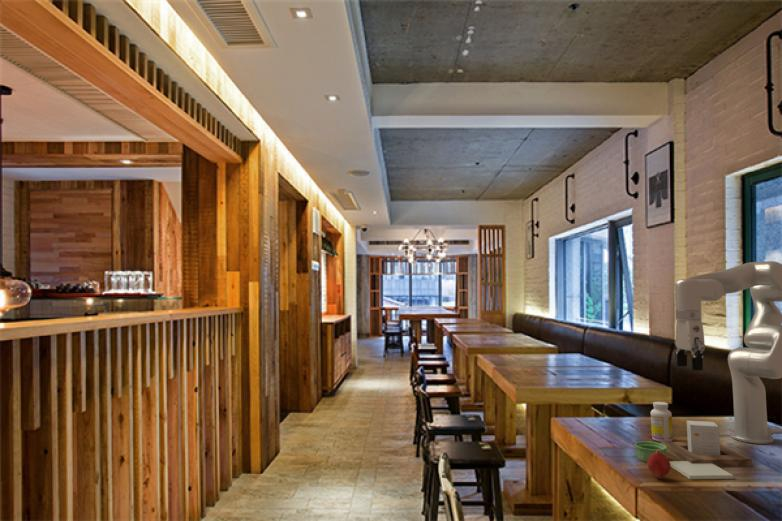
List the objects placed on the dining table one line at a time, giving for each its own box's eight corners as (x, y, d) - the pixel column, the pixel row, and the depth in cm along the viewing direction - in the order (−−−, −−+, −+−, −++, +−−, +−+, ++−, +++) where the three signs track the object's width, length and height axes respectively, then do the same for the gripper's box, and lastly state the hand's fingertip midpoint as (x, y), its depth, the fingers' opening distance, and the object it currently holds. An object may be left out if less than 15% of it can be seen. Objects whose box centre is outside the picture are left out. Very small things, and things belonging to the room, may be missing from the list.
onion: (643, 475, 149) (642, 446, 149) (662, 474, 149) (661, 445, 150) (655, 482, 143) (654, 453, 143) (675, 481, 143) (674, 452, 144)
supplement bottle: (668, 437, 185) (666, 401, 185) (676, 443, 178) (674, 405, 179) (648, 437, 185) (647, 400, 186) (656, 442, 179) (654, 405, 179)
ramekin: (670, 465, 156) (669, 450, 157) (637, 462, 159) (636, 448, 159) (664, 456, 165) (663, 442, 165) (633, 453, 168) (633, 440, 168)
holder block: (715, 447, 172) (715, 441, 173) (752, 466, 154) (751, 459, 155) (660, 448, 173) (660, 442, 173) (691, 466, 155) (691, 459, 155)
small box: (716, 455, 165) (714, 421, 166) (721, 460, 160) (719, 426, 160) (687, 452, 168) (686, 419, 168) (691, 458, 162) (689, 424, 163)
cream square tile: (707, 464, 157) (707, 460, 157) (733, 478, 145) (732, 475, 145) (667, 464, 157) (667, 461, 157) (689, 479, 145) (689, 475, 145)
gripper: (714, 317, 164) (716, 372, 163) (686, 315, 181) (687, 365, 180) (690, 317, 164) (691, 371, 163) (664, 315, 181) (665, 364, 180)
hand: (689, 368), depth 171 cm, fingers open, 9 cm apart
